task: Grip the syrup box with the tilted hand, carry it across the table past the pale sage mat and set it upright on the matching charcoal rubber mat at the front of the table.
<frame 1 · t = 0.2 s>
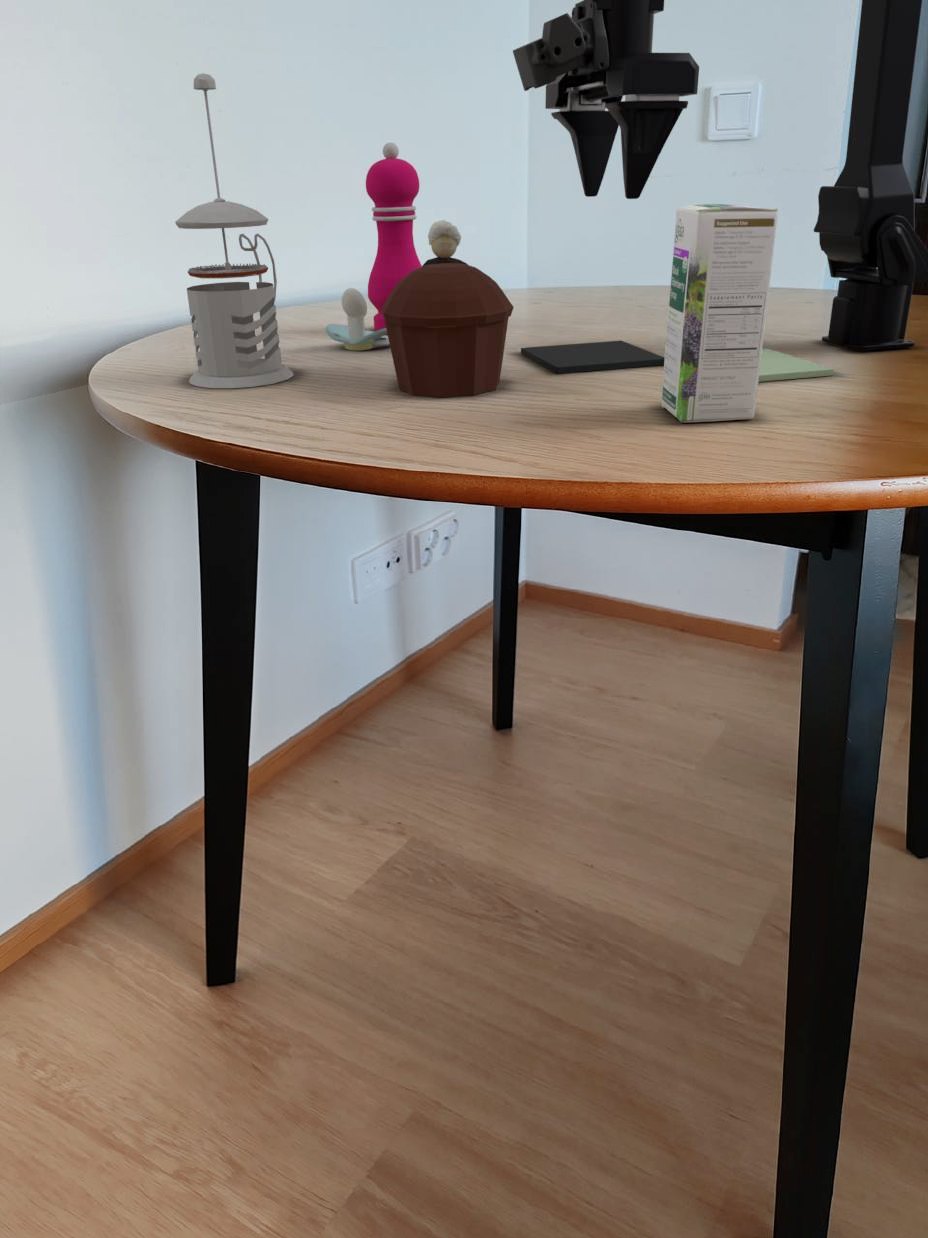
hand: (610, 197, 83), 15 cm above the table, tool pointing down, fingers open, 9 cm apart
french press: (247, 377, 90), on the table
syrup box: (706, 415, 72), on the table
pepper mill: (400, 331, 113), on the table
pacifier: (364, 349, 103), on the table
sage mat: (744, 368, 86), on the table
charcoal mat: (591, 359, 93), on the table
grandmother figurine: (448, 352, 99), on the table
muffin: (449, 388, 83), on the table
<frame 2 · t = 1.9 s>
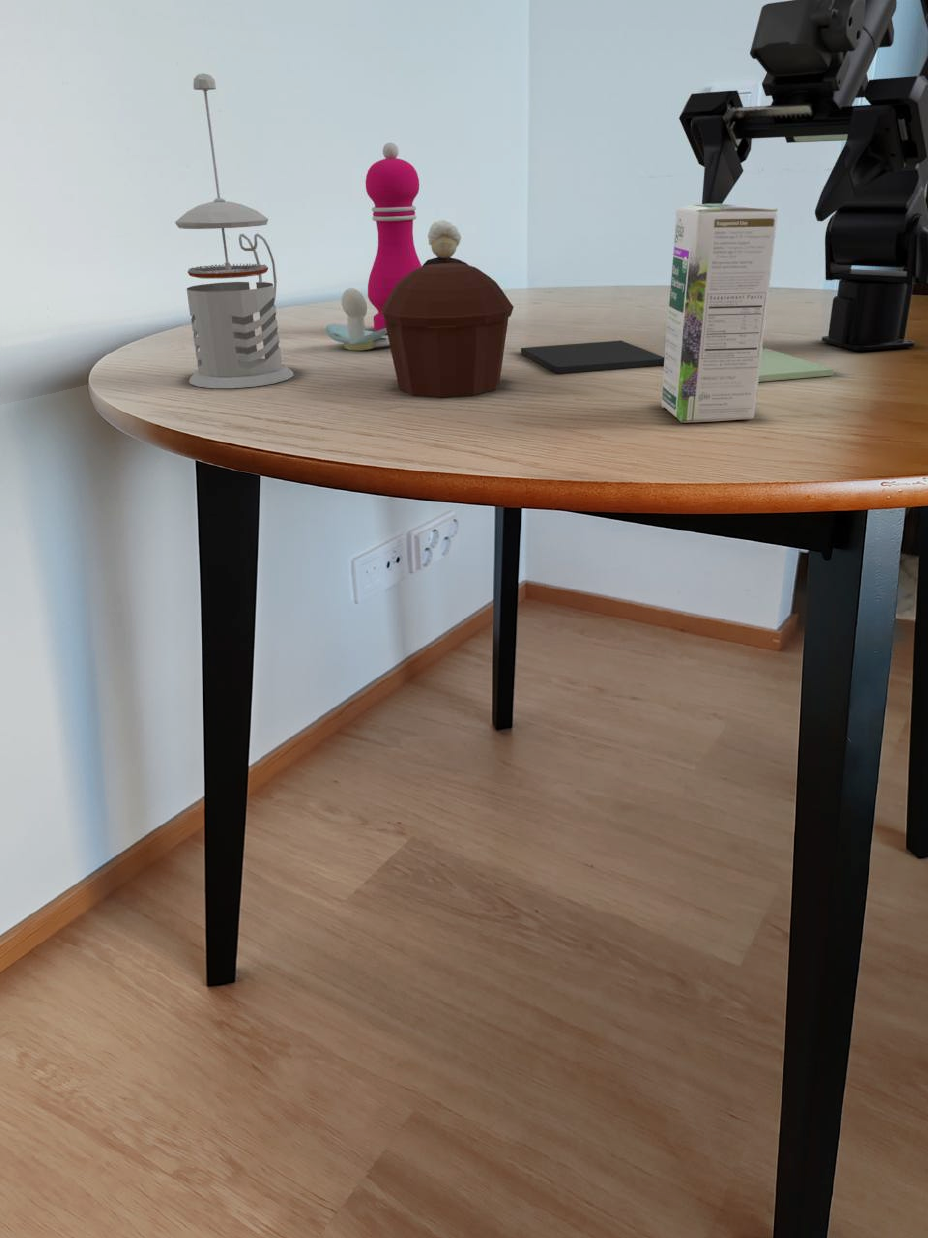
hand: (759, 216, 72), 13 cm above the table, tool tilted 40°, fingers open, 9 cm apart
nothing on the table moved.
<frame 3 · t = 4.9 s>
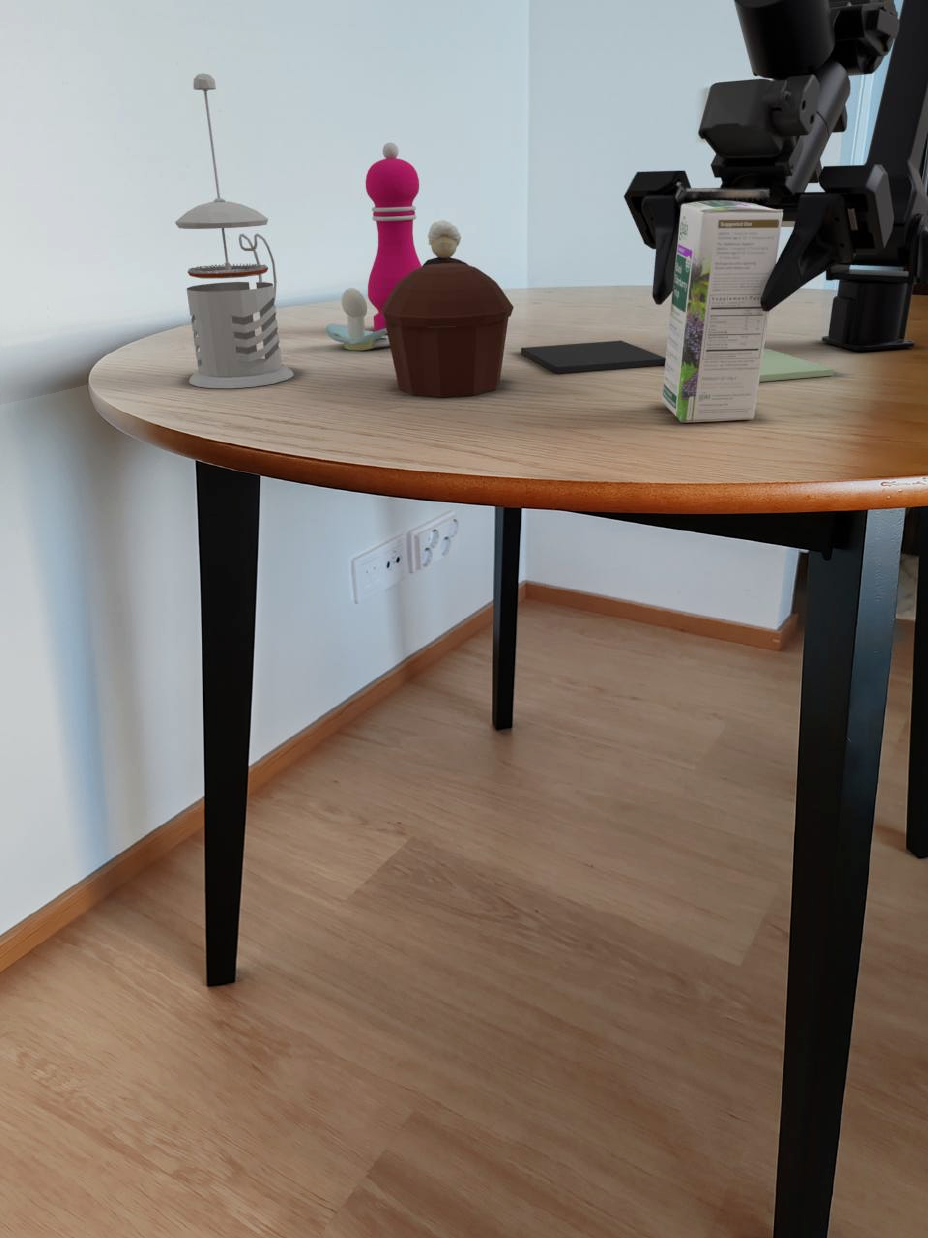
hand: (707, 303, 67), 8 cm above the table, tool tilted 45°, fingers closed on syrup box, 8 cm apart
syrup box: (706, 414, 72), on the table, touching gripper
everything else where it was.
when the fingers open (9 cm above the table, at t = 13.2 s): syrup box stays where it is, resting on charcoal mat.
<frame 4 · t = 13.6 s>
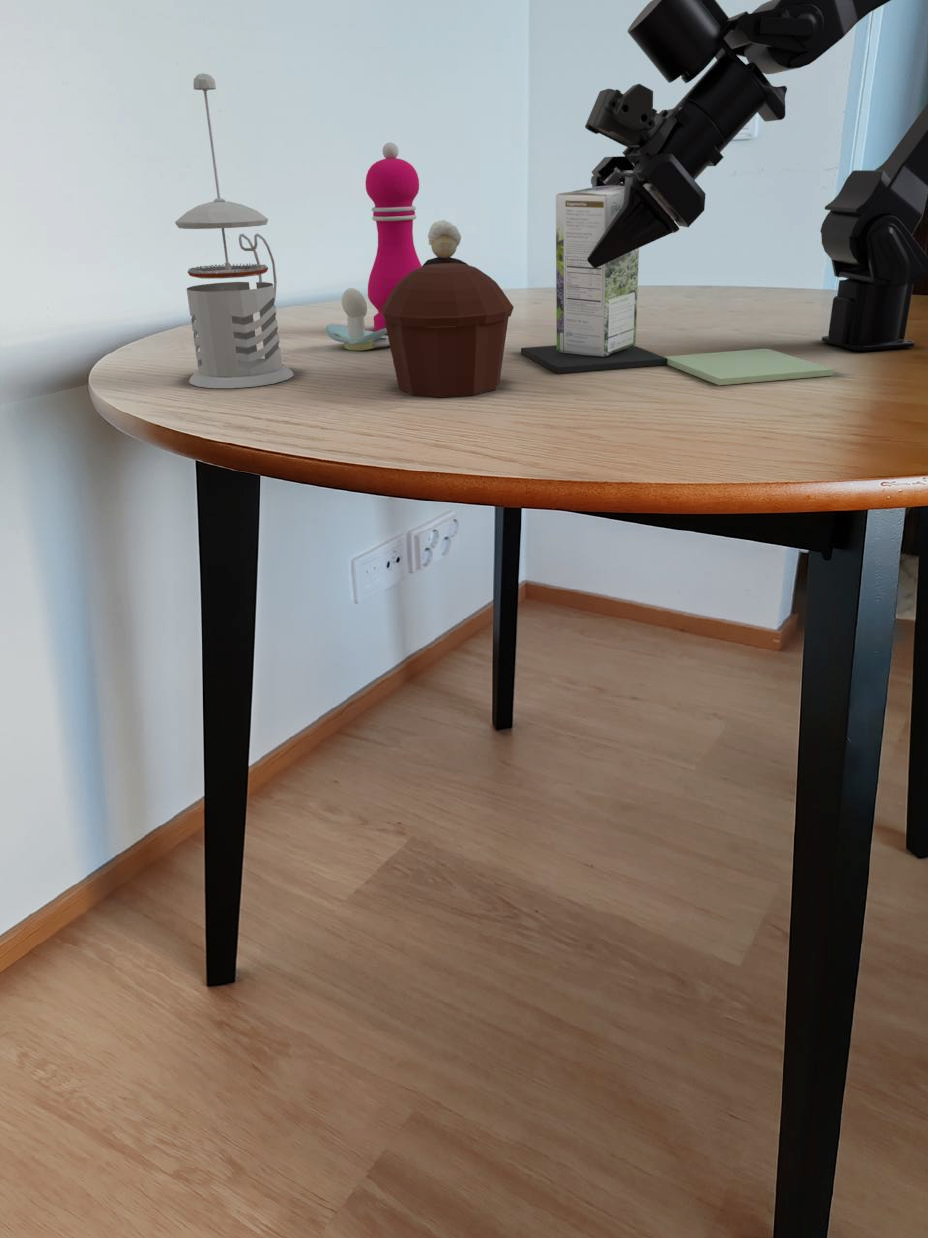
hand: (579, 259, 89), 9 cm above the table, tool tilted 45°, fingers open, 9 cm apart
syrup box: (597, 351, 93), point 1 cm above the table, touching charcoal mat
everything else where it was.
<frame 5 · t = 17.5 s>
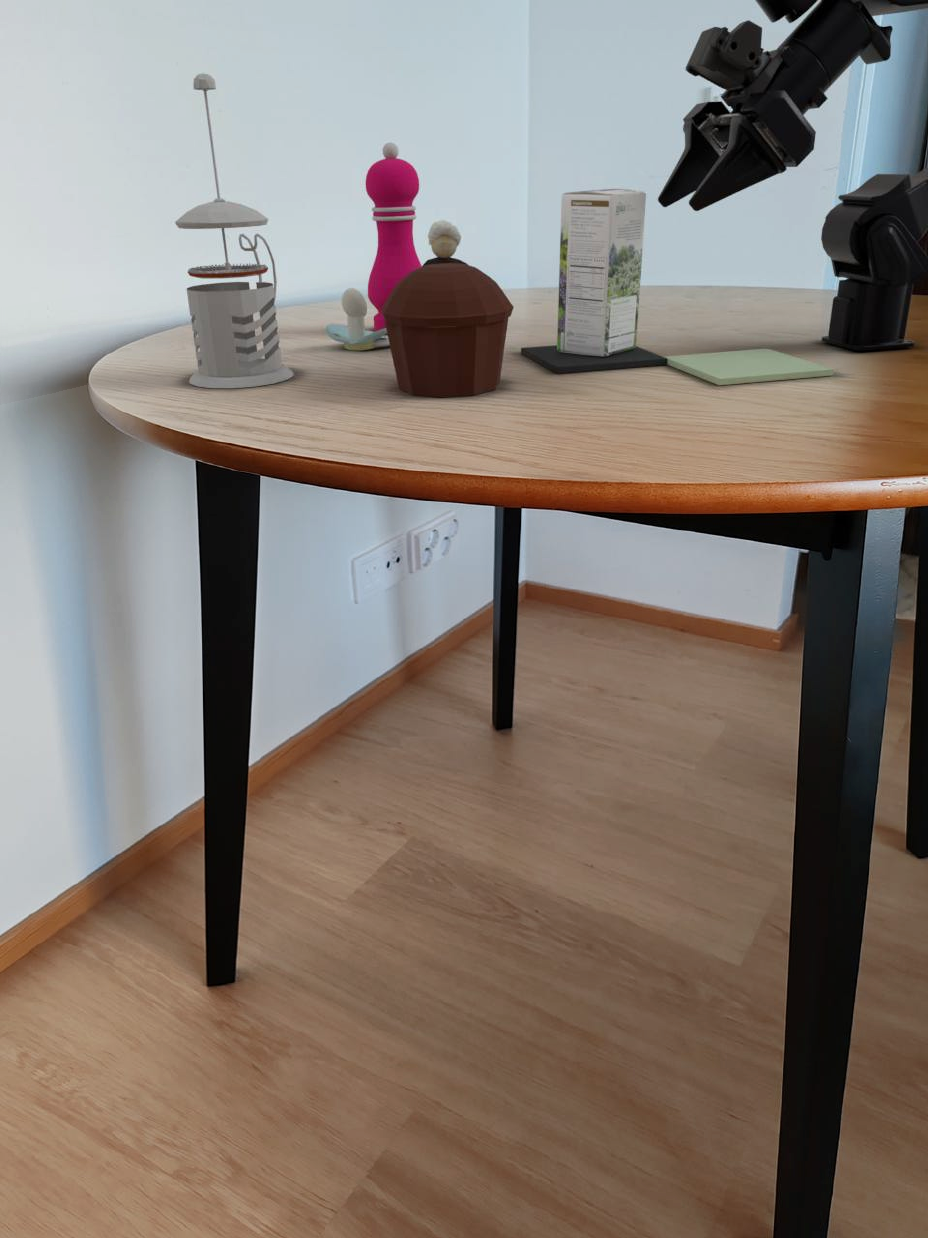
hand: (675, 205, 88), 14 cm above the table, tool tilted 45°, fingers open, 9 cm apart
nothing on the table moved.
at the end: syrup box inside the target area on the charcoal mat (1.1 cm from its centre), point 0.4 cm above the charcoal mat's base; syrup box tilted 0°; the gripper is holding nothing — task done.
